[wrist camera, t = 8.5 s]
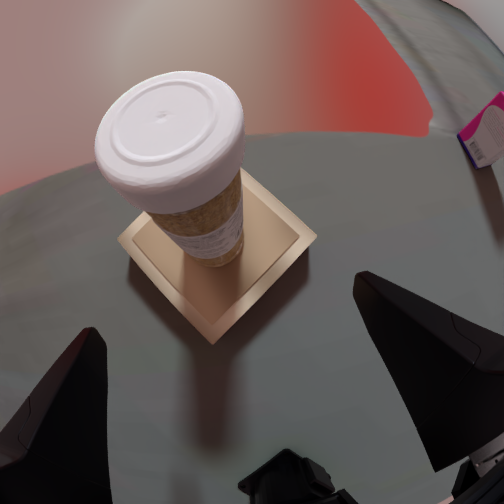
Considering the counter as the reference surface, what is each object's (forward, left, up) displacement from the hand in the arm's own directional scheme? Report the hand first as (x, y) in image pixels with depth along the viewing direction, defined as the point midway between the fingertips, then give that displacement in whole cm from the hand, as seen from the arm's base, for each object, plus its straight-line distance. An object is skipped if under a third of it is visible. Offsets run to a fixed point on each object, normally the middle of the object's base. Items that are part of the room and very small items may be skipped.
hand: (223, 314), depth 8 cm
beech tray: (+3, +5, -14) cm, 15 cm away
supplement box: (+38, -10, -14) cm, 41 cm away
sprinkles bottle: (+3, +5, -11) cm, 12 cm away
